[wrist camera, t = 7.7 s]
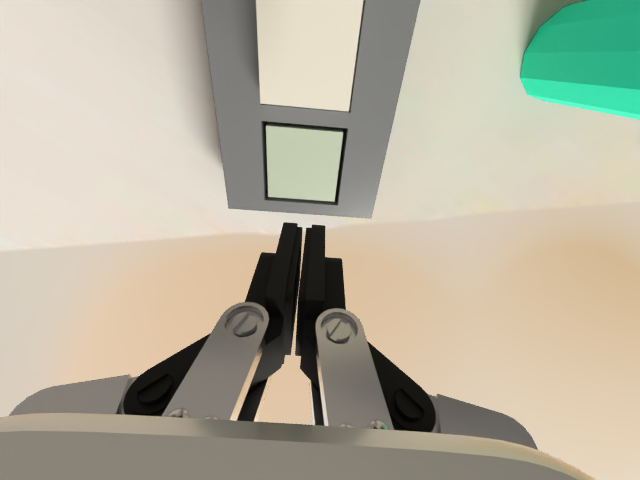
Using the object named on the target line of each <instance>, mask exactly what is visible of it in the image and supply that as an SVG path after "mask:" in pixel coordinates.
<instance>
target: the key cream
mask: <svg viewBox="0 0 640 480" xmlns="http://www.w3.org/2000/svg"><path fill="white" fill-rule="evenodd" d="M362 8H363V0H256V13H257V37H258V60H259V83H260V104H271V105H282V106H293V107H304V108H315V109H326V110H337V111H348V112H349V106H350V99H351V91H352V83H353V76H354V68H355V61H356V53H357V46H358V38H359V31H360V23H361V15H362Z"/></svg>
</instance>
